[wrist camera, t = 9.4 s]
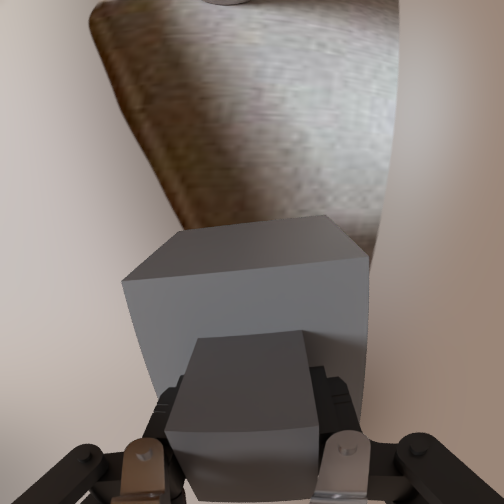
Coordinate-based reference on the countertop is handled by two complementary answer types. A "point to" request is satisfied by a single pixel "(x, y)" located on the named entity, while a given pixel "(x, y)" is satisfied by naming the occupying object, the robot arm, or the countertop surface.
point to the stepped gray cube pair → (251, 348)
